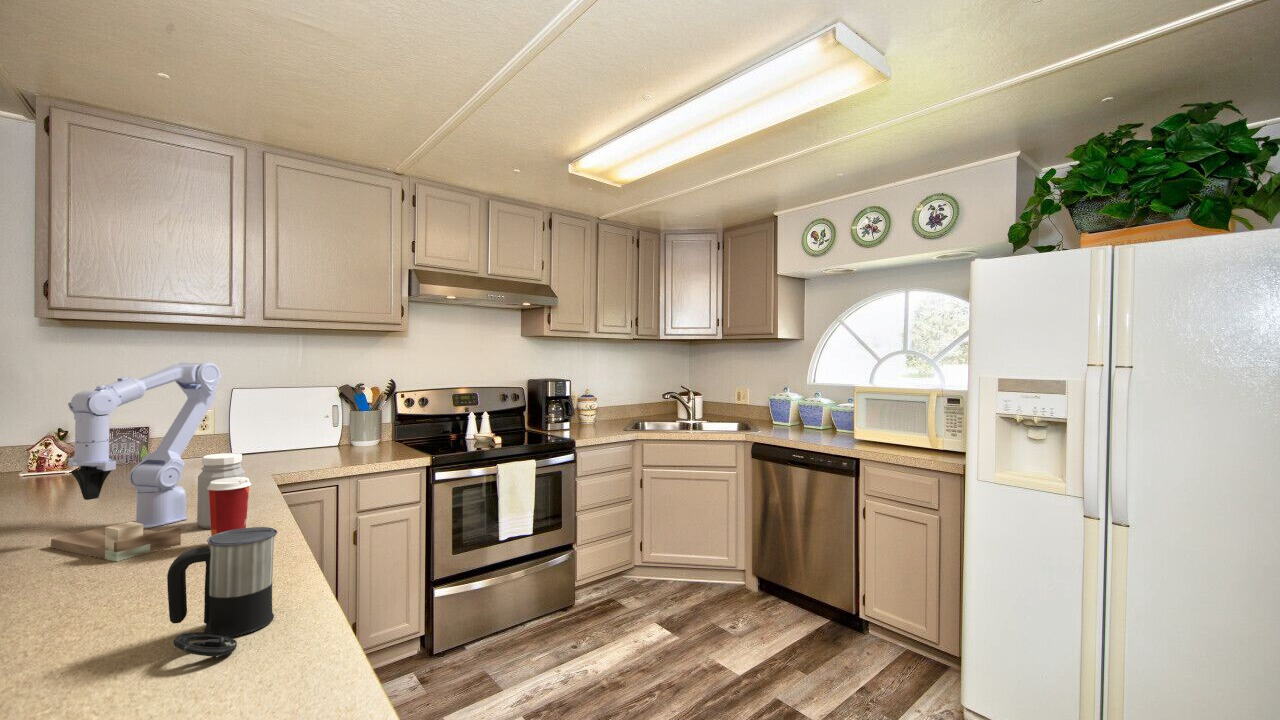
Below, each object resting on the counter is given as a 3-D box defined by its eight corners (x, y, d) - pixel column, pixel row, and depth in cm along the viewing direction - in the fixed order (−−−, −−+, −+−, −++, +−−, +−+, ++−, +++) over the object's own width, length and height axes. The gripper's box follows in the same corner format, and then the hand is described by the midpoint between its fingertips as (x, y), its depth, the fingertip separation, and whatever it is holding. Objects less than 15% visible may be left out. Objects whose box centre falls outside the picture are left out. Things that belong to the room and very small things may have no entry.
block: (130, 541, 121) (130, 521, 121) (142, 544, 120) (143, 524, 120) (104, 548, 117) (105, 527, 117) (117, 550, 116) (118, 529, 116)
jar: (187, 527, 139) (188, 457, 139) (226, 517, 148) (227, 451, 148) (215, 531, 136) (216, 459, 136) (253, 520, 145) (254, 453, 145)
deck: (116, 532, 134) (117, 516, 134) (180, 544, 126) (180, 527, 126) (50, 547, 123) (51, 530, 123) (116, 561, 115) (116, 543, 115)
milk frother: (265, 607, 95) (266, 522, 95) (297, 637, 85) (299, 542, 85) (157, 638, 84) (159, 542, 84) (179, 677, 74) (181, 568, 74)
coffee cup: (258, 539, 130) (259, 477, 130) (229, 551, 122) (230, 484, 122) (226, 537, 131) (227, 475, 131) (195, 549, 123) (196, 483, 123)
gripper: (51, 441, 126) (50, 499, 126) (88, 445, 122) (87, 505, 121) (90, 437, 133) (89, 493, 133) (127, 441, 128) (126, 498, 128)
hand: (91, 498), depth 128 cm, fingers closed
